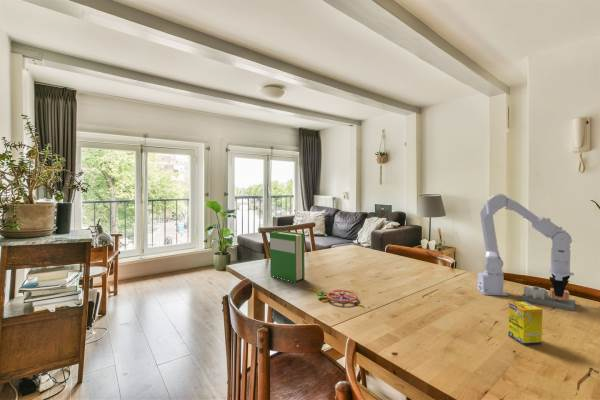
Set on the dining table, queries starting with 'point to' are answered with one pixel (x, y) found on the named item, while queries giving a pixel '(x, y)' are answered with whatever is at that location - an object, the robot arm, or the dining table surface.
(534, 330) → the supplement box
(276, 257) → the hardback book
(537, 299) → the gear board
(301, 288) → the dining table surface
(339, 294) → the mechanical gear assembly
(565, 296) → the loose gear
